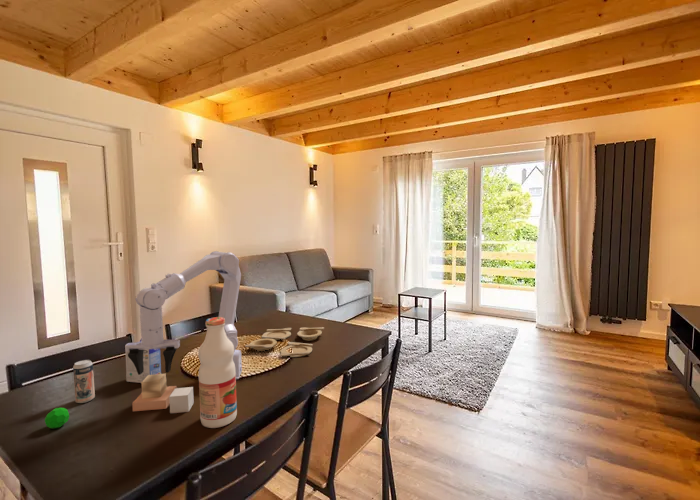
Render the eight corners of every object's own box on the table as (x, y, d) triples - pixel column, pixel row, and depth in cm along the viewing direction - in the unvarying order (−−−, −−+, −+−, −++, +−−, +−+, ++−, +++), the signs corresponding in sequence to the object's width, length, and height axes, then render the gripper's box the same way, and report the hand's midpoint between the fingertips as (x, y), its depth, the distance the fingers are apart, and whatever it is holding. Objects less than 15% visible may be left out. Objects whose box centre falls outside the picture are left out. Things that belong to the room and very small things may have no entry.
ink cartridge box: (162, 377, 120) (160, 337, 119) (150, 384, 114) (148, 342, 113) (138, 375, 122) (136, 335, 121) (125, 382, 116) (123, 340, 115)
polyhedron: (42, 433, 88) (40, 416, 87) (49, 423, 92) (48, 406, 92) (66, 429, 90) (65, 411, 89) (72, 419, 94) (71, 402, 94)
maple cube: (166, 389, 106) (165, 373, 105) (160, 397, 101) (159, 380, 101) (149, 390, 105) (148, 374, 105) (142, 398, 100) (141, 382, 100)
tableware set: (269, 331, 173) (269, 323, 173) (326, 333, 169) (326, 325, 168) (237, 357, 138) (237, 347, 138) (307, 360, 134) (307, 350, 134)
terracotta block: (177, 394, 108) (176, 385, 108) (166, 409, 99) (165, 400, 99) (146, 397, 107) (146, 388, 107) (132, 412, 98) (132, 402, 98)
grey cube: (193, 402, 102) (193, 386, 102) (188, 411, 98) (187, 395, 97) (176, 404, 102) (175, 388, 101) (170, 413, 97) (169, 396, 96)
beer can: (73, 405, 101) (70, 366, 100) (77, 398, 105) (74, 361, 105) (93, 401, 103) (90, 363, 103) (96, 394, 108) (94, 358, 107)
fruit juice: (204, 412, 97) (200, 315, 95) (238, 407, 99) (235, 313, 97) (197, 431, 88) (192, 325, 86) (235, 426, 90) (231, 322, 88)
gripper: (118, 333, 96) (121, 380, 97) (173, 330, 99) (175, 376, 100) (130, 326, 103) (133, 369, 104) (181, 323, 106) (183, 366, 107)
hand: (154, 372), depth 102 cm, fingers open, 7 cm apart
